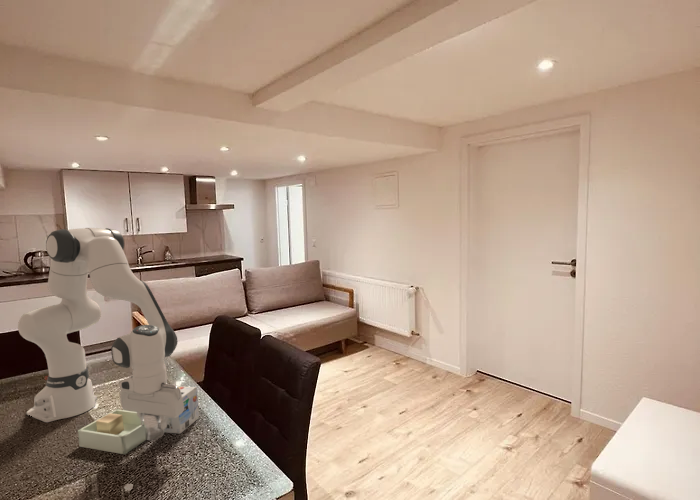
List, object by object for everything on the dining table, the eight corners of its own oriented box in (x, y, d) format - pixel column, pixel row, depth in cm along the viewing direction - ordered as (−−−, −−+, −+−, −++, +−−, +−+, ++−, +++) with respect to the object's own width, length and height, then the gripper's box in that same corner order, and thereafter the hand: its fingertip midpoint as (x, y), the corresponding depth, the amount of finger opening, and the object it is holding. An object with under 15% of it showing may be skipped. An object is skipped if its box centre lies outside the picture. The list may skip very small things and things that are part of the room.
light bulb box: (180, 434, 124) (177, 400, 123) (161, 433, 126) (158, 399, 125) (200, 417, 135) (197, 386, 134) (182, 416, 136) (179, 385, 135)
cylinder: (141, 438, 117) (139, 415, 116) (154, 429, 121) (152, 407, 121) (155, 441, 115) (153, 418, 114) (167, 432, 120) (166, 409, 119)
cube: (110, 438, 122) (108, 422, 121) (97, 436, 123) (96, 421, 123) (123, 430, 127) (122, 414, 126) (111, 428, 128) (110, 413, 128)
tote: (79, 446, 120) (77, 430, 120) (118, 423, 133) (116, 409, 133) (124, 454, 115) (123, 437, 114) (160, 429, 128) (159, 414, 127)
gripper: (187, 380, 116) (190, 426, 118) (132, 374, 123) (136, 417, 124) (171, 389, 110) (175, 437, 112) (114, 382, 117) (118, 427, 118)
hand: (154, 426), depth 118 cm, fingers closed on cylinder, 5 cm apart
